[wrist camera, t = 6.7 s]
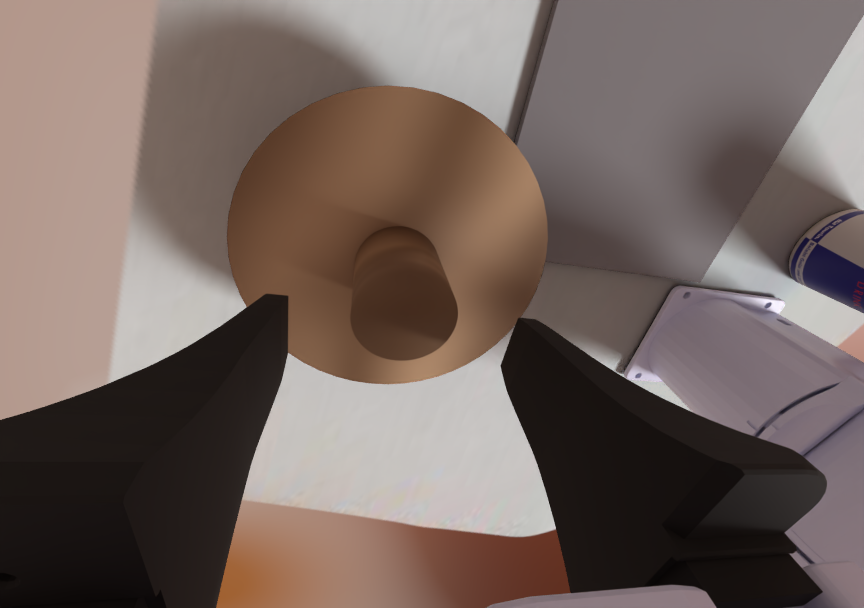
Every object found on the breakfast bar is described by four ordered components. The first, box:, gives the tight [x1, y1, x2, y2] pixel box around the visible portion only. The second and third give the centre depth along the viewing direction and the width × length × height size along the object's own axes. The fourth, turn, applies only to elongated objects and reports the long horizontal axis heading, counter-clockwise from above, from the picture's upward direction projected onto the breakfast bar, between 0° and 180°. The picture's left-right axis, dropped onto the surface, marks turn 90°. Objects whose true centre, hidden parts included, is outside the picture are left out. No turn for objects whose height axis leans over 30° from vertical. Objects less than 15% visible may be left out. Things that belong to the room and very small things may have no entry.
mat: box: [514, 0, 864, 282], centre depth 19 cm, size 15×15×1 cm
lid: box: [227, 86, 548, 384], centre depth 14 cm, size 13×13×5 cm
